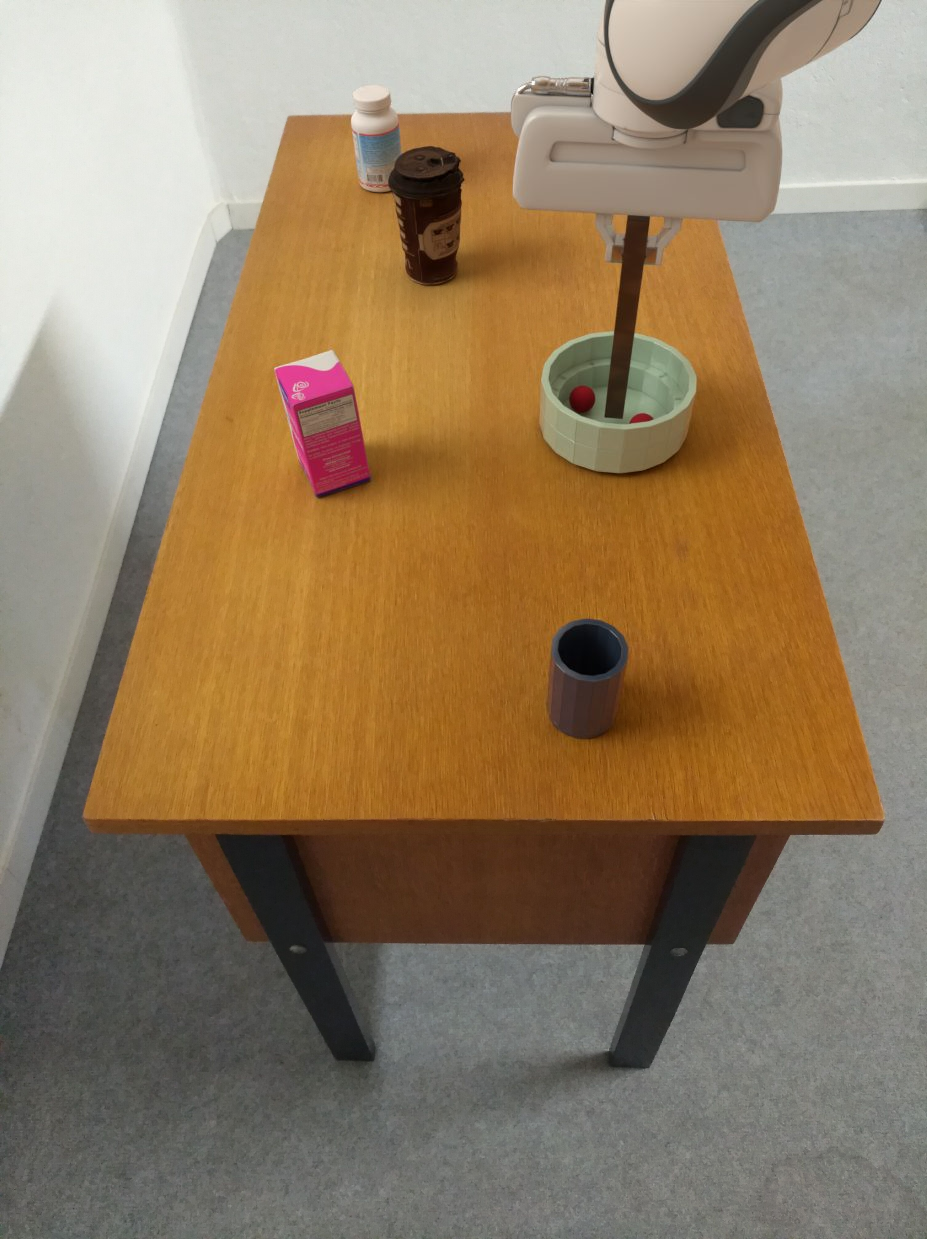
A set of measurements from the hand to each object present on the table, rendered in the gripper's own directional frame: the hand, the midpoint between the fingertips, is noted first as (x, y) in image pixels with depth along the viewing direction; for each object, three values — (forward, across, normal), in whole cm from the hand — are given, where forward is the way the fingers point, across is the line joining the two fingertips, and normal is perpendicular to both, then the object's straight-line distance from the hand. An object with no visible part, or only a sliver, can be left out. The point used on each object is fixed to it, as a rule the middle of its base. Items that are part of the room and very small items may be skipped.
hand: (633, 260), depth 74 cm
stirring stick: (+16, 0, 0) cm, 16 cm away
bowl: (+18, 0, 0) cm, 18 cm away
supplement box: (+18, -26, -10) cm, 33 cm away
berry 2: (+16, +3, -2) cm, 16 cm away
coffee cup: (+18, -23, +25) cm, 38 cm away
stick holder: (+18, 0, -33) cm, 38 cm away
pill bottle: (+18, -34, +45) cm, 59 cm away
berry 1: (+16, -3, +2) cm, 16 cm away
